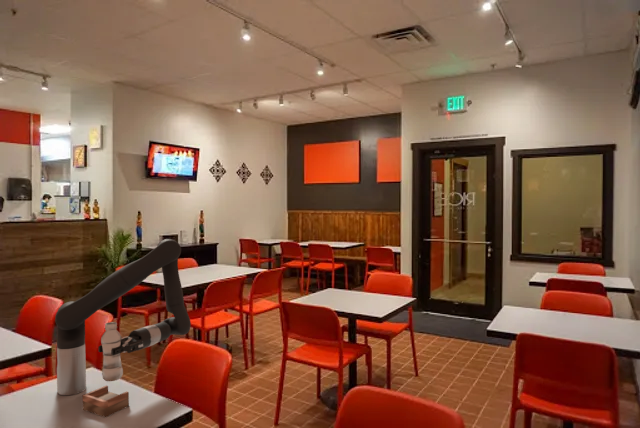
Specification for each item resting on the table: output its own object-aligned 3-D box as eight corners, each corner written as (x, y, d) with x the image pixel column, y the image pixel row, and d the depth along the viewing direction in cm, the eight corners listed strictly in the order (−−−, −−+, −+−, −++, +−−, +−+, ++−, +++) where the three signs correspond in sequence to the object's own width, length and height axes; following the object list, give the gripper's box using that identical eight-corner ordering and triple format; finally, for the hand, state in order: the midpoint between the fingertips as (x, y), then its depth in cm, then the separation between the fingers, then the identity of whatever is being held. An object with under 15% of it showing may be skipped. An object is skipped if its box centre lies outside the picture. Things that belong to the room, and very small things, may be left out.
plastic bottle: (115, 384, 150) (113, 326, 149) (97, 383, 151) (96, 325, 151) (127, 376, 156) (125, 321, 156) (110, 375, 158) (108, 320, 157)
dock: (82, 409, 150) (82, 395, 150) (106, 399, 158) (106, 385, 158) (105, 417, 145) (105, 402, 145) (128, 406, 153) (128, 391, 152)
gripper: (131, 325, 169) (91, 337, 155) (158, 329, 163) (119, 343, 148) (132, 344, 170) (92, 358, 155) (158, 349, 163) (119, 365, 148)
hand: (105, 350), depth 151 cm, fingers closed on plastic bottle, 6 cm apart
